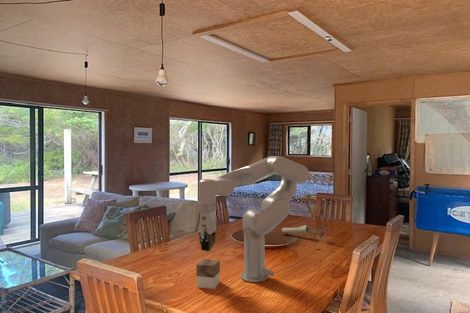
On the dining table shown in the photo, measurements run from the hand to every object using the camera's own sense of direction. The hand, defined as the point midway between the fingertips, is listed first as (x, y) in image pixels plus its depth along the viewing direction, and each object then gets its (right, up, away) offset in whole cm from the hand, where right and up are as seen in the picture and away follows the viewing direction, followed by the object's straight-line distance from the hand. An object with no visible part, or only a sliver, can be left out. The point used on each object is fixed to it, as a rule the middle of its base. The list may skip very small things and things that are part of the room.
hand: (207, 247), depth 152 cm
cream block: (0, -17, 0) cm, 17 cm away
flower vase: (+59, -15, +77) cm, 98 cm away
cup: (0, -2, 0) cm, 2 cm away
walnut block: (0, -12, 0) cm, 12 cm away
